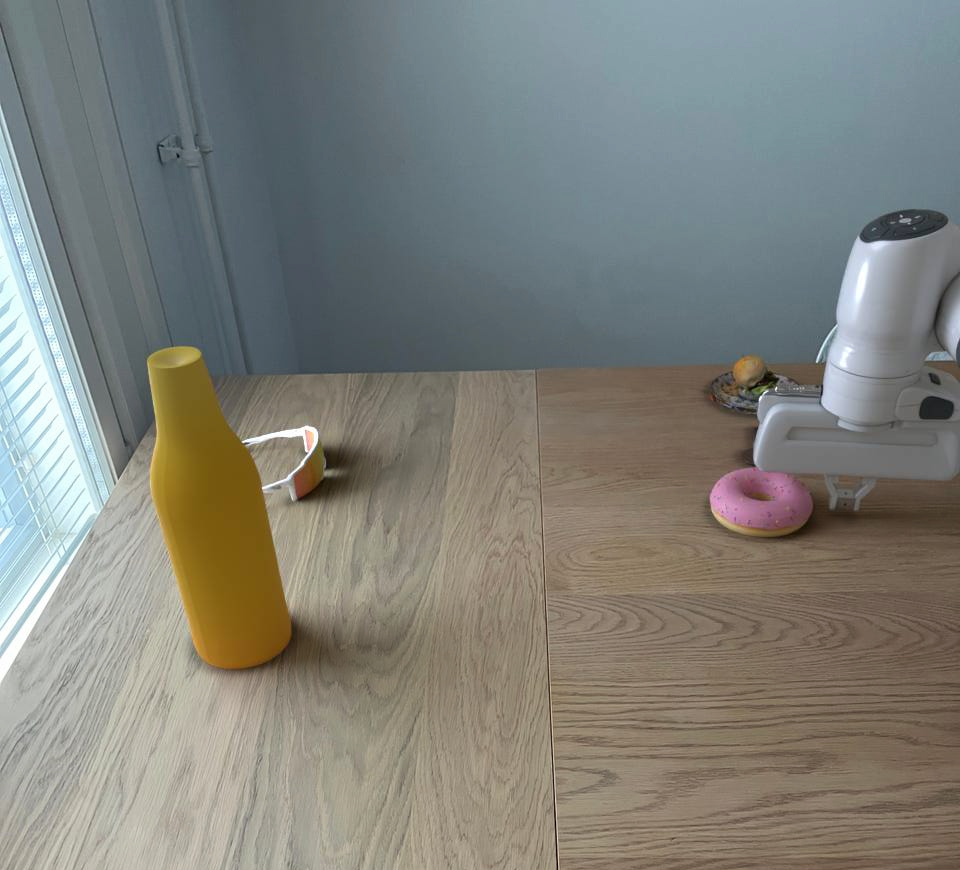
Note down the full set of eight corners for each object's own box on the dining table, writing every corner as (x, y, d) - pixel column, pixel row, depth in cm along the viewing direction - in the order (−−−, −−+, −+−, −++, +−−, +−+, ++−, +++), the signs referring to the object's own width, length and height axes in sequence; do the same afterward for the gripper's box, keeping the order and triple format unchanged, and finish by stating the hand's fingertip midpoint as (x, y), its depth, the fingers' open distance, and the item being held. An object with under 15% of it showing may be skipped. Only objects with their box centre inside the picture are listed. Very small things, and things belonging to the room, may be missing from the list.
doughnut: (817, 501, 110) (824, 468, 107) (800, 553, 102) (807, 519, 100) (720, 484, 114) (724, 452, 111) (696, 533, 106) (700, 500, 103)
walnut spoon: (772, 434, 122) (773, 426, 122) (775, 472, 115) (776, 463, 115) (739, 433, 123) (740, 424, 122) (740, 470, 116) (741, 461, 115)
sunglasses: (323, 507, 113) (311, 470, 110) (199, 528, 115) (183, 492, 112) (337, 448, 124) (325, 413, 121) (223, 468, 126) (209, 433, 123)
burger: (804, 422, 125) (814, 367, 120) (709, 419, 126) (715, 364, 122) (796, 382, 134) (805, 328, 129) (707, 379, 135) (713, 326, 131)
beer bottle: (313, 639, 95) (258, 351, 76) (236, 689, 90) (157, 393, 71) (253, 602, 100) (188, 324, 81) (177, 648, 94) (89, 362, 76)
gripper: (761, 397, 96) (744, 517, 105) (984, 406, 93) (947, 529, 101) (759, 370, 101) (743, 487, 110) (971, 377, 97) (937, 498, 106)
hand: (842, 507), depth 106 cm, fingers closed
